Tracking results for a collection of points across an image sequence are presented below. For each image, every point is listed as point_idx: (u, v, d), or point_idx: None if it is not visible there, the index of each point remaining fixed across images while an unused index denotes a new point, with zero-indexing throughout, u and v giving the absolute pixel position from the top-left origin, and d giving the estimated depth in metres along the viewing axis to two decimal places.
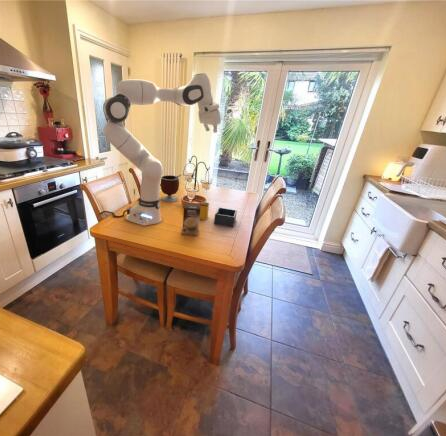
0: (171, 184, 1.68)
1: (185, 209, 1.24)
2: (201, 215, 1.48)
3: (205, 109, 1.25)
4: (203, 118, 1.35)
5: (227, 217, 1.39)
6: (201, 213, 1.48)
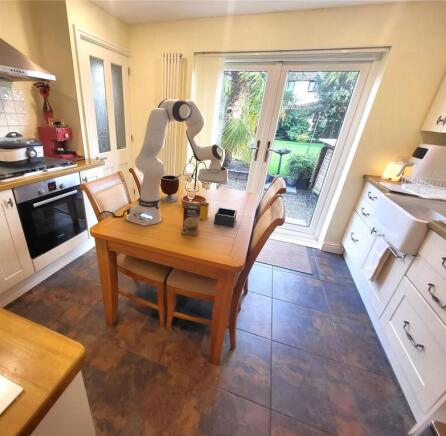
0: (171, 184, 1.68)
1: (185, 209, 1.24)
2: (201, 215, 1.48)
3: (221, 168, 1.54)
4: (207, 175, 1.56)
5: (227, 217, 1.39)
6: (201, 213, 1.48)
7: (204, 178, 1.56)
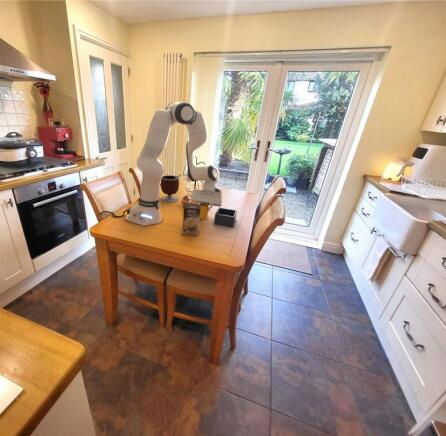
0: (171, 184, 1.68)
1: (185, 209, 1.24)
2: (201, 215, 1.48)
3: (215, 190, 1.48)
4: (201, 197, 1.50)
5: (227, 217, 1.39)
6: (201, 213, 1.48)
7: (197, 200, 1.49)
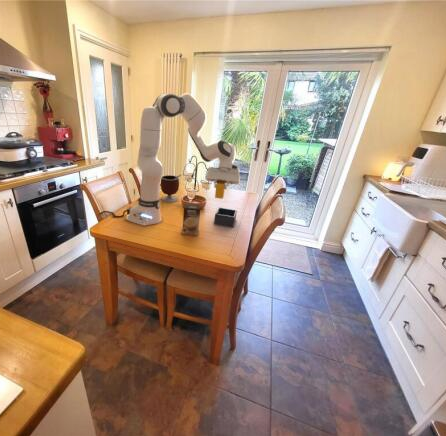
0: (171, 184, 1.68)
1: (185, 209, 1.24)
2: (217, 194, 1.39)
3: (233, 166, 1.38)
4: (217, 174, 1.41)
5: (227, 217, 1.39)
6: (217, 191, 1.39)
7: (213, 177, 1.40)
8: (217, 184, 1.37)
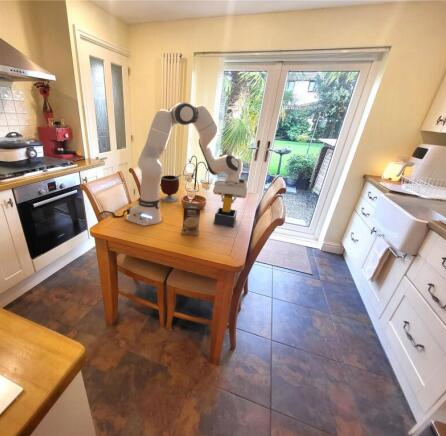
0: (171, 184, 1.68)
1: (185, 209, 1.24)
2: (224, 207, 1.41)
3: (240, 181, 1.40)
4: (224, 188, 1.42)
5: (227, 217, 1.39)
6: (225, 205, 1.40)
7: (220, 191, 1.42)
8: (224, 198, 1.39)
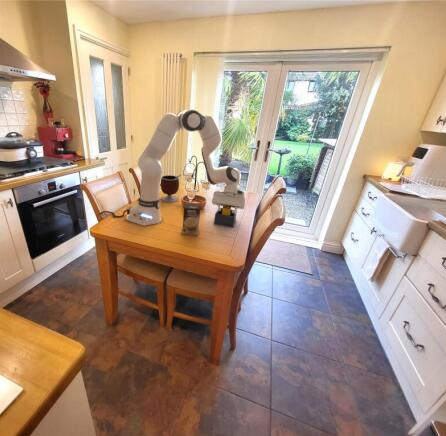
0: (171, 184, 1.68)
1: (185, 209, 1.24)
2: None
3: (238, 192, 1.43)
4: (223, 199, 1.45)
5: (227, 217, 1.39)
6: None
7: (219, 202, 1.45)
8: (223, 209, 1.42)
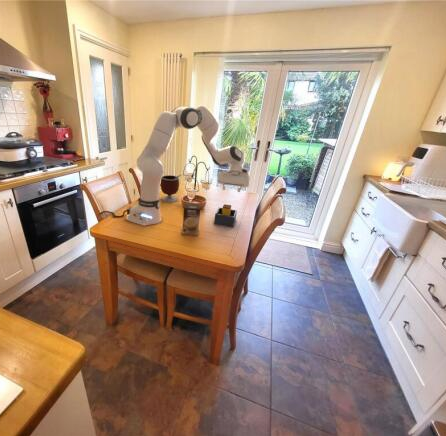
0: (171, 184, 1.68)
1: (185, 209, 1.24)
2: None
3: (243, 170, 1.48)
4: (228, 177, 1.50)
5: (227, 217, 1.39)
6: None
7: (224, 180, 1.50)
8: (223, 209, 1.42)
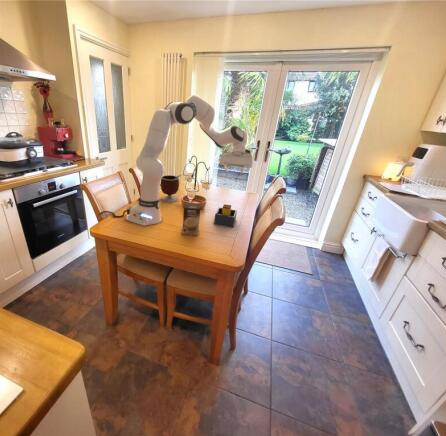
0: (171, 184, 1.68)
1: (185, 209, 1.24)
2: None
3: (246, 151, 1.45)
4: (231, 158, 1.47)
5: (227, 217, 1.39)
6: None
7: (227, 161, 1.47)
8: (223, 209, 1.42)
